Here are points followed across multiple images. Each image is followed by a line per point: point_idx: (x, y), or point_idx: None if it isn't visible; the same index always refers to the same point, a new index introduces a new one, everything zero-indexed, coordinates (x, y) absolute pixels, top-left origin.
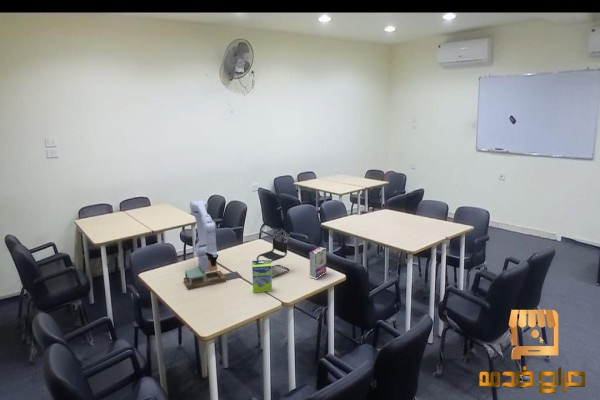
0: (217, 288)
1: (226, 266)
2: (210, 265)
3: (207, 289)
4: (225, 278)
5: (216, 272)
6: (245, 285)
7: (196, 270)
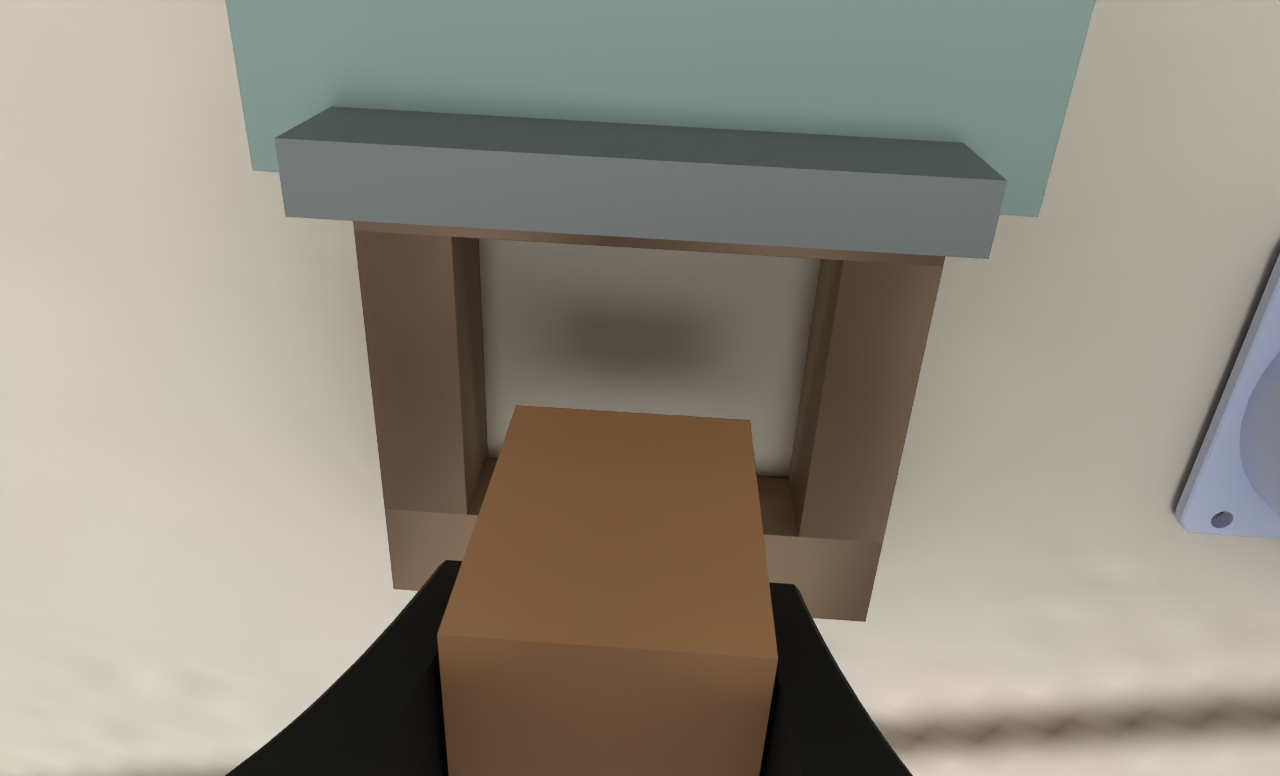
0: (151, 275)
1: (1140, 758)
2: (468, 554)
3: (169, 49)
4: (395, 565)
5: (807, 527)
6: (127, 705)
7: None
